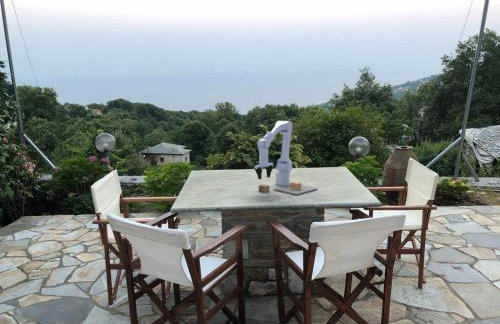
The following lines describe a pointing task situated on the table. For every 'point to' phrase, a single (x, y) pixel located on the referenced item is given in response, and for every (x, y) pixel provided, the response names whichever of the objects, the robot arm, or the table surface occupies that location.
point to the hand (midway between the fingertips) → (264, 178)
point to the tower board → (295, 192)
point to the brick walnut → (264, 188)
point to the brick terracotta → (295, 185)
